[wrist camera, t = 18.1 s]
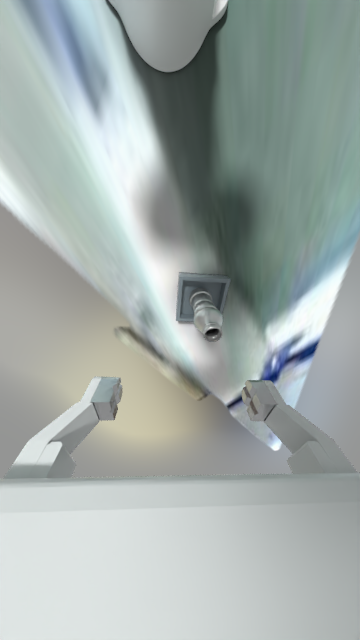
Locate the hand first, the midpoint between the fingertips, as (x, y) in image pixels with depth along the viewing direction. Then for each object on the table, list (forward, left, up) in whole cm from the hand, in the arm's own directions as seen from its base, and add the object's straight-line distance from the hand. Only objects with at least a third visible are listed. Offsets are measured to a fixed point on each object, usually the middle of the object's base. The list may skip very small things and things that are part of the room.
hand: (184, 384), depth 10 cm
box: (+10, +8, -39) cm, 41 cm away
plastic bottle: (+9, +8, -38) cm, 40 cm away
